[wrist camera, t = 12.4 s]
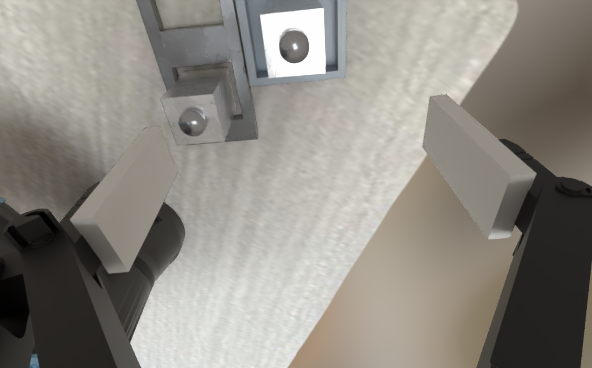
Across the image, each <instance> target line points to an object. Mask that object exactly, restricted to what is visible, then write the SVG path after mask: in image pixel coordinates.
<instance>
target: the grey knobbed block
mask: <svg viewBox="0 0 592 368" xmlns="http://www.w3.org/2000/svg"><path fill="white" fill-rule="evenodd" d="M160 100H161V102H162V105H163V108H164V111H165V113H166V116H167V119H168V122H169V125H170V127H171V130H172V133H173V136H174V138H175V141H176V144H177V145H188V144H200V143H212V142H224V141H225V139H226V137H227V134H228V131H229V128H230V125H231V122H232V119H233V116H234V114H235V111H236V105H235V101H234V96H233V91H232V87H231V82H230V77H229V73H228V68H217V69H207V70H196V71H186V72H184V73H183V74H182V75H181V76H180V77H179V78H178V80H177V81H176V82H175V83H174V84H173V85H172V86H171V87H170V89H169V90H168V91H167V92H166V93H165V94H164V95H163V96H162V98H161V99H160Z"/></svg>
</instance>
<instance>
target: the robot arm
mask: <svg viewBox="0 0 592 368" xmlns="http://www.w3.org/2000/svg"><path fill="white" fill-rule="evenodd" d="M422 147H423V148H424V150H425V151H426V153H427V154H428V155H429V157H430V158H431V160H432V161H433V162H434V164H435V165H436V167H437V168H438V170H439V171H440V173H441V174H442V175H443V177H444V178H445V179H446V181H447V182H448V184H449V185H450V187H451V188H452V190H453V191H454V192H455V194H456V195H457V197H458V198H459V199H460V201H461V202H462V204H463V205H464V207H465V208H466V209H467V211H468V212H469V214H470V215H471V216H472V218H473V219H474V221H475V222H476V224H477V225H478V226H479V228H480V229H481V231H482V232H483V234H484V235H485V236H486V238H487V239H498V238H509V237H510V236H511V233H512V231H513V228H514V226H515V225H516V226H517V227H518V228H519V230H520V231H521V232H522V235H521V237H520V239H519V241H518V244H517V246H516V248H515V251H514V253H513V256H514V257H513V260H512V263H511V266H510V269H509V272H508V275H507V278H506V281H505V284H504V287H503V290H502V293H501V296H500V299H499V302H498V305H497V308H496V311H495V314H494V317H493V320H492V323H491V326H490V329H489V332H488V335H487V338H486V341H485V343H484V346H483V350H482V352H481V356H480V358H479V361H478V365H477V368H580V366H581V357H582V347H583V338H584V329H585V319H586V310H587V301H588V291H589V283H590V273H591V264H592V186H590V185H588V184H586V183H584V182H582V181H579V180H576V179H572V178H566V177H556V176H555V175H554V174H553V173H551V172H550V171H549V170H548V169H546V168H545V167H544V166H543V165H541V164H540V163H539V162H538V161H537V160H535V159H533V157H532V156H531V155H529V154H528V153H526V151H525V150H523V149H522V148H521V147H520V146H519V145H517V144H515V143H513V142H511V141H508V140H506V139H497V138H496V137H494V136H493V135H492V134H491V133H490V132H489V131H488V130H486V129H485V128H484V127H483V126H482V125H481V124H480V123H478V122H477V121H476V120H475V119H474V118H473V117H472V116H471V115H469V114H468V113H467V112H466V111H465V110H464V109H462V108H461V107H460V106H459V105H458V104H457V103H456V102H455V101H453V100H452V99H451V98H450V97H449V96H448V95H447V94H446V95H437V96H430V100H429V107H428V113H427V120H426V127H425V133H424V140H423V146H422ZM177 174H178V170H177V168H176V165H175V162H174V160H173V157H172V155H171V152H170V150H169V147H168V145H167V142H166V140H165V137H164V135H163V132H162V130H161V127H160V126H157V127H148V128H144V130H143V131H142V132H141V133H140V134H139V136H138V137H137V138H136V139H135V141H134V142H133V143H132V144H131V145H130V147H129V148H128V149H127V150H126V152H125V153H124V154H123V155H122V156H121V158H120V159H119V160H118V161H117V163H116V164H115V165H114V166H113V167H112V169H111V170H110V171H109V172H108V174H107V175H106V176H105V177H104V178H103V180H102V181H101V182H98V183H96V184H95V185H93V186H92V187H91V188H89V189H88V190H87V191H86V192H85V193H84V195H83V196H82V197H81V200H78V202H77V203H76V204H75V207H73V208H72V209H71V210H70V211H69V212H68V213H67V215H66V216H65V217H64V218H63V219H62V221H61V222H60V223H59V222H58V221H57V220H56V218H55V217H54V216H53V214H52V213H51V212H50V211H49V210H48V209H36V210H32V211H29V212H26V213H24V214H22V215H21V214H20V213H18V212H17V211H16V210H14V209H13V208H12V207H10V206H9V205H7V204H6V203H5V201H6V200H5V199H3V198H0V368H141V367H140V364H139V362H138V360H137V358H136V356H135V353H134V351H133V349H132V347H131V344H130V342H131V339H132V337H133V334H134V332H135V329H136V327H137V324H138V322H139V319H140V317H141V314H142V312H143V309H144V307H145V304H146V302H147V299H148V297H149V294H150V292H151V290H152V287H153V285H154V282H155V281H156V280H157V278H158V277H159V276H160V275H161V274H162V273H163V271H164V270H165V269H166V268H167V267H168V265H169V264H171V263H172V262H173V261H174V260H175V259H176V257H177V256H178V254H179V252H180V250H181V247H182V245H183V242H184V238H185V231H184V227H183V224H182V222H181V220H180V219H179V217H178V216H177V215H176V213H175V212H174V211H173V210H172V209H171V208H169V207H168V206H167V205H166V204H164V203H163V202H164V200H165V198H166V196H167V194H168V192H169V190H170V188H171V186H172V184H173V182H174V180H175V178H176V176H177Z"/></svg>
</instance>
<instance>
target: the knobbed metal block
mask: <svg viewBox="0 0 592 368" xmlns="http://www.w3.org/2000/svg"><path fill="white" fill-rule="evenodd" d="M260 19H261V26H262V33H263V40H264V48H265V55H266V62H267V69H268V77H269V78H276V77H287V76H298V75H309V74H319V73H325V46H324V14H323V7H322V5H321V3H320V2H319V0H275V1H267V2H266V4H265V6H264V8H263V10H262V12H261V14H260Z"/></svg>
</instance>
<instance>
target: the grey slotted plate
mask: <svg viewBox="0 0 592 368" xmlns="http://www.w3.org/2000/svg"><path fill="white" fill-rule="evenodd" d="M136 1H137V4H138V7H139V10H140V13H141V16H142V19H143V22H144V25H145V28H146V31H147V34H148V37H149V40H150V42H151V45H152V48H153V51H154V54H155V57H156V60H157V63H158V66H159V69H160V72H161V75H162V78H163V81H164V84H165V87H166V90H167V91H168V90H169V89H170V87H171V86H172V85H173V84H174V83H175V82H176V81H177V80H178V74H177V71H176V68H175V67H185V66H196V65H206V64H217V63H227V62H232V66H233V71H234V76H235V81H236V86H237V91H238V96H239V100H240V105H241V110H242V115H238V116H233V119H232V122H231V125H230V128H229V131H228V134H227V137H226V139H225V141H224V142H229V141H241V140H253V139H258V129H257V124H256V118H255V112H254V107H253V101H252V95H251V90H250V84H249V78H248V73H247V67H246V61H245V56H244V50H243V45H242V39H241V33H240V28H239V22H238V16H237V11H236V5H235V0H219V2H220V7H221V12H222V17H223V22H224V23H223V24H213V25H203V26H193V27H183V28H173V29H163V26H162V23H161V19H160V16H159V13H158V10H157V7H156V3H155V0H136ZM212 143H217V142H212ZM200 144H205V143H200ZM188 145H194V144H188Z"/></svg>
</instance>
